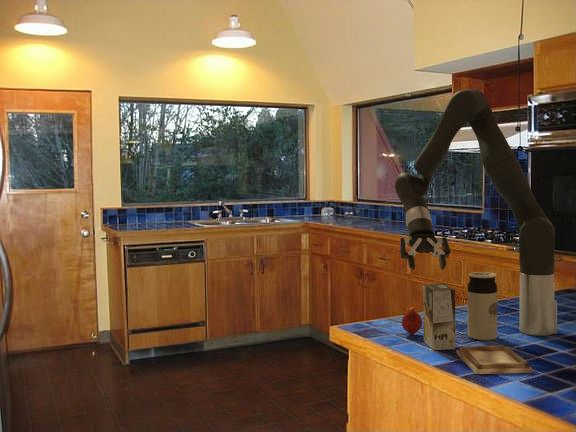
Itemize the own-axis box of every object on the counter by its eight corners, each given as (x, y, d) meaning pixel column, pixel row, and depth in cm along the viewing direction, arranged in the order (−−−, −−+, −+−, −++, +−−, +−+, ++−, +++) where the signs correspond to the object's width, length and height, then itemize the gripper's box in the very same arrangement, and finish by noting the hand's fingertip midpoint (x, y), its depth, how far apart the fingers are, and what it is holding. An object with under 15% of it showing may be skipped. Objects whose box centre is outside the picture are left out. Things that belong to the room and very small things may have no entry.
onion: (422, 337, 173) (422, 310, 173) (401, 337, 174) (401, 309, 174) (422, 332, 179) (421, 305, 178) (402, 332, 180) (401, 305, 179)
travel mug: (461, 335, 175) (461, 273, 174) (483, 332, 178) (483, 270, 177) (480, 342, 168) (480, 277, 166) (503, 338, 171) (503, 274, 169)
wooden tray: (506, 352, 158) (506, 344, 158) (532, 372, 142) (532, 364, 142) (456, 353, 158) (456, 346, 158) (476, 374, 142) (476, 365, 142)
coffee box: (456, 349, 161) (456, 289, 160) (432, 350, 161) (432, 290, 160) (444, 340, 171) (444, 283, 169) (422, 341, 170) (421, 284, 169)
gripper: (397, 217, 184) (405, 260, 173) (445, 216, 184) (455, 259, 173) (394, 233, 189) (401, 276, 179) (440, 232, 189) (450, 275, 179)
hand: (428, 268), depth 176 cm, fingers open, 8 cm apart
